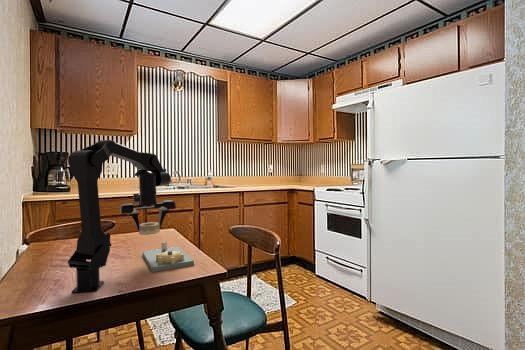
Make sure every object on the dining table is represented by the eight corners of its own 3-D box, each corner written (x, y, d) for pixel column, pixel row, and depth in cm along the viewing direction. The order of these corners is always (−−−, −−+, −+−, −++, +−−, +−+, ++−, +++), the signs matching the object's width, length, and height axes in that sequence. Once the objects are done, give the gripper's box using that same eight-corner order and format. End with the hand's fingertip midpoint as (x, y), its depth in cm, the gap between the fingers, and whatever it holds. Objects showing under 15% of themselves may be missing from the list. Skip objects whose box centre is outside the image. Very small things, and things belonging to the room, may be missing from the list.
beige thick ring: (161, 232, 107) (160, 224, 107) (140, 235, 104) (140, 227, 104) (157, 229, 113) (156, 221, 113) (137, 231, 110) (137, 223, 110)
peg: (166, 253, 113) (166, 243, 112) (161, 253, 112) (160, 243, 112) (167, 251, 115) (167, 241, 114) (161, 252, 114) (161, 242, 114)
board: (193, 264, 104) (193, 252, 103) (152, 272, 96) (152, 258, 96) (178, 249, 123) (178, 239, 122) (142, 255, 116) (142, 244, 115)
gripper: (168, 185, 120) (169, 222, 120) (117, 187, 110) (119, 228, 111) (175, 186, 110) (176, 227, 111) (120, 190, 100) (122, 234, 101)
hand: (149, 229), depth 109 cm, fingers closed on beige thick ring, 7 cm apart
